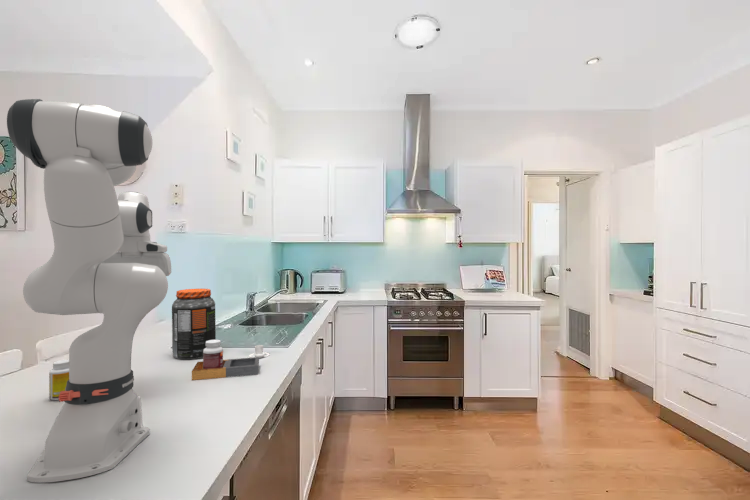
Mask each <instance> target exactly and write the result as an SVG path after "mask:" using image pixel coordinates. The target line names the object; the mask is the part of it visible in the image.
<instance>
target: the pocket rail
mask: <svg viewBox="0 0 750 500" xmlns="http://www.w3.org/2000/svg"><path fill="white" fill-rule="evenodd" d="M253 357H254V358H251V357H247V358H246V357H243V358H241V357H240V358H229V359H223V367H222V368H210V369H203V360H202V361H197V362H196V364H195V365H194V367H193V368H192V370H191V381H200V380H211V379H222V378H234V377H235V378H236V377H246V376H257V375H259V369H260V358H259V357H255V356H253Z"/></svg>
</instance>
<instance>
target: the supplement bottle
mask: <svg viewBox="0 0 750 500" xmlns="http://www.w3.org/2000/svg"><path fill="white" fill-rule="evenodd" d="M48 374H49V376H48V377H49V378H48V382H49V385H48V386H49V389H48V391H49V393H48V394H49V399H50V400H51V401H60V400H59V397H60V396H59V395H60V392H61V391H65V388H66V385H67V381H68V380H69V359H59V360H56V361H54V362H53V363H52V369H50V370H49V373H48Z"/></svg>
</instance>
